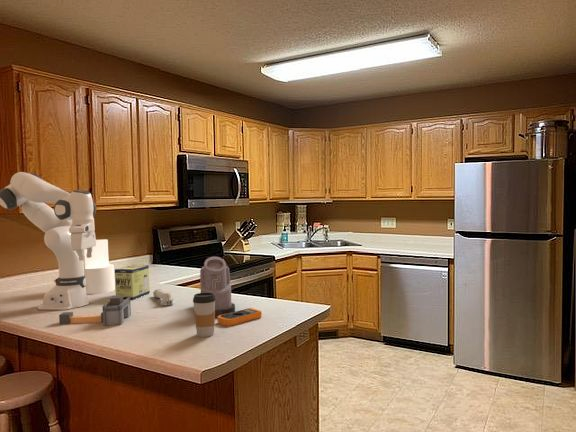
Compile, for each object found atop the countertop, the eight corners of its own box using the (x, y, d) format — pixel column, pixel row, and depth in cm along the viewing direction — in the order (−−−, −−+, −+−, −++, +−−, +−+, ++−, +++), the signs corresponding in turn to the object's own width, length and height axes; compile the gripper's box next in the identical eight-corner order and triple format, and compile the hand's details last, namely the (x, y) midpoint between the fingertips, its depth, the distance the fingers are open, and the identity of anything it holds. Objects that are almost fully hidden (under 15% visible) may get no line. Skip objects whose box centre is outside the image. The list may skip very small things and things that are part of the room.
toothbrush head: (161, 288, 235) (173, 290, 214) (162, 301, 235) (174, 304, 213) (151, 289, 233) (162, 291, 211) (152, 302, 233) (163, 306, 211)
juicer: (238, 316, 191) (236, 259, 190) (199, 320, 187) (197, 262, 186) (229, 300, 220) (227, 251, 219) (195, 303, 216) (193, 253, 215)
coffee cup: (195, 331, 171) (194, 292, 171) (217, 330, 172) (216, 291, 171) (192, 338, 163) (191, 297, 162) (216, 337, 164) (214, 296, 163)
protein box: (115, 299, 230) (113, 269, 229) (133, 292, 245) (132, 264, 244) (133, 300, 227) (131, 269, 226) (150, 293, 242) (149, 264, 241)
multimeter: (215, 323, 182) (214, 315, 182) (250, 314, 194) (250, 306, 194) (227, 328, 176) (227, 319, 176) (263, 318, 188) (262, 310, 188)
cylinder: (74, 293, 248) (71, 242, 247) (98, 286, 264) (96, 239, 263) (98, 294, 242) (96, 243, 240) (121, 288, 258) (119, 239, 256)
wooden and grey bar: (59, 324, 186) (58, 315, 186) (63, 321, 191) (63, 312, 191) (117, 321, 188) (116, 312, 188) (120, 318, 193) (120, 309, 192)
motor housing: (103, 325, 183) (102, 301, 182) (114, 315, 198) (113, 293, 197) (121, 324, 183) (119, 300, 183) (131, 315, 198) (129, 292, 198)
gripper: (84, 226, 206) (86, 256, 206) (67, 229, 185) (69, 262, 186) (98, 225, 206) (100, 255, 207) (83, 228, 186) (85, 261, 187)
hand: (85, 258), depth 196 cm, fingers open, 8 cm apart
